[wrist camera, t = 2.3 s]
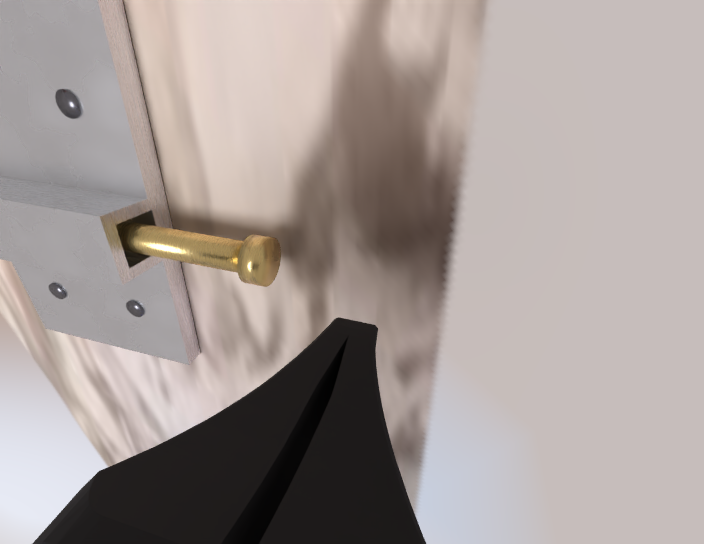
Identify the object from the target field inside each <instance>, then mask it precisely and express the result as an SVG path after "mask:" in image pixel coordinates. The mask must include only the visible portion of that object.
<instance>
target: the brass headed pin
mask: <svg viewBox="0 0 704 544" xmlns="http://www.w3.org/2000/svg"><path fill="white" fill-rule="evenodd" d="M116 228H117V231H118V234H119V238H120V241H121V244H122V247H123V250H124V251H129V252H134V253H139V254H144V255H150V256H155V257H160V258H165V259H170V260H175V261H181V262H186V263H191V264H196V265H201V266H207V267H212V268H217V269H222V270H227V271H233V272H238V275H239V278H240V279H241V281H243V282H244V283H249V284H254V285H259V286H264V287H267V286H269V285H270V284H271V283H272V282H273V281H274V279H275V277H276V275H277V273H278V270H279V266H280V259H281V249H280V244H279V242H278V240H277V239H276V238H272V237H266V236H260V235H255V234H252V235H249V236H248V237H247V238H246V239H245V240H244V241H239V240H234V239H228V238H222V237H216V236H211V235H205V234H199V233H193V232H188V231H182V230H176V229H170V228H165V227H159V226H153V225H147V224H142V223H136V222H130V221H123V222H121V223H119V224H116Z"/></svg>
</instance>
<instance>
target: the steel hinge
mask: <svg viewBox="0 0 704 544" xmlns="http://www.w3.org/2000/svg"><path fill="white" fill-rule="evenodd" d="M123 221H130V222H136V223H142V224H147V225H153V226H159V227H165V228H170V229H173V227H172V222H171V218H170V213H169V209H168V204H167V199H166V195H165V190H164V186H163V181H162V177H161V172H160V168H159V163H158V159H157V154H156V150H155V145H154V141H153V136H152V132H151V127H150V123H149V118H148V114H147V109H146V105H145V100H144V96H143V91H142V87H141V82H140V78H139V73H138V69H137V64H136V60H135V55H134V50H133V46H132V41H131V37H130V32H129V28H128V23H127V19H126V14H125V10H124V5H123V1H122V0H0V259H3V260H7V261H11V262H12V264H13V266H14V268H15V270H16V272H17V274H18V275H19V277H20V279H21V281H22V283H23V285H24V287H25V289H26V291H27V293H28V295H29V297H30V299H31V301H32V303H33V305H34V307H35V309H36V310H37V312H38V314H39V316H40V318H41V320H42V322H43V324H44V326H45V328H46V329H50V330H54V331H58V332H62V333H65V334H69V335H73V336H77V337H81V338H85V339H89V340H93V341H97V342H101V343H105V344H109V345H113V346H117V347H121V348H125V349H129V350H133V351H136V352H140V353H144V354H148V355H152V356H156V357H160V358H164V359H168V360H172V361H176V362H180V363H184V364H188V365H190V364H191V362H192V361H193V360H194V359H195V358H196V357H197V356H198V355H199V354H200V348H199V344H198V339H197V335H196V330H195V326H194V321H193V317H192V312H191V308H190V303H189V299H188V294H187V290H186V285H185V281H184V276H183V272H182V267H181V263H180V261H175V260H170V259H165V258H160V257H155V256H150V255H144V254H139V253H134V252H129V251H124V250H123V247H122V244H121V241H120V238H119V234H118V231H117V228H116V224H119V223H121V222H123Z"/></svg>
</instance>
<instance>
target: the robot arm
mask: <svg viewBox="0 0 704 544" xmlns="http://www.w3.org/2000/svg"><path fill="white" fill-rule="evenodd" d="M377 332H378V328H377V327H376V326H375V325H372V324H367V323H363V322H358V321H353V320H348V319H343V318H336V319H334V321H333V322H332V323H331V324H330V325H329V326H328V327H327V328H326V329H325V330H324V331H323V332H322V333H321V334H320V335H319V336H318V337H317V338H316V339H315V340H314V341H313V342H312V343H311V344H310V345H309V346H308V347H307V348H305V349H304V350H303V351H302V352H301V353H300V354H299V355H298V356H297V357H296V358H294V359H293V360H292V361H291V362H290V363H288V364H287V365H286V366H285V367H284V368H282V369H281V370H280V371H279V372H277V373H276V374H275V375H274V376H272V377H271V378H270V379H268V380H267V381H266V382H264V383H263V384H262V385H260V386H259V387H258V388H256V389H255V390H253V391H252V392H250V393H249V394H247V395H246V396H244V397H243V398H241V399H240V400H238V401H237V402H235V403H233V404H232V405H230V406H229V407H227V408H226V409H224V410H222V411H221V412H219V413H217V414H216V415H214V416H212V417H211V418H209V419H207V420H205V421H204V422H202V423H200V424H198V425H196V426H194V427H192V428H190V429H188V430H186V431H185V432H183V433H181V434H179V435H177V436H175V437H173V438H171V439H169V440H168V441H165V442H163V443H161V444H159V445H157V446H155V447H153V448H151V449H149V450H146V451H144V452H142V453H140V454H137V455H135V456H133V457H131V458H128V459H126V460H124V461H122V462H119V463H117V464H115V465H113V466H110V467H108V468H106V469H103V470H101V471H99V472H98V473H97V474H96V475H95V476H94V477H93V478H92V479H91V480H90V481H89V482H88V483H87V484H86V485H85V486H84V487H83V488H82V489H81V490H80V491H79V492H78V493H77V494H76V495H75V496H74V498H73V499H72V500H71V501H70V502H69V503H68V504H67V506H66V507H65V508H64V509H63V510H62V511H61V513H59V515H58V516H57V517H56V518H55V519H54V520H53V521H52V522H51V524H50V525H49V526H48V527H47V528H46V529H45V530H44V532H42V534H41V535H40V536H39V537H38V538H37V539H36V540H35V542H34V543H33V544H426V542H425V540H424V538H423V535H422V532H421V530H420V527H419V525H418V522H417V519H416V517H415V514H414V511H413V509H412V506H411V503H410V501H409V498H408V495H407V492H406V489H405V486H404V483H403V480H402V477H401V474H400V471H399V468H398V465H397V462H396V459H395V456H394V452H393V449H392V445H391V441H390V438H389V434H388V430H387V426H386V422H385V418H384V413H383V408H382V403H381V398H380V392H379V386H378V378H377V369H376V353H375V347H376V340H377Z"/></svg>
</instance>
